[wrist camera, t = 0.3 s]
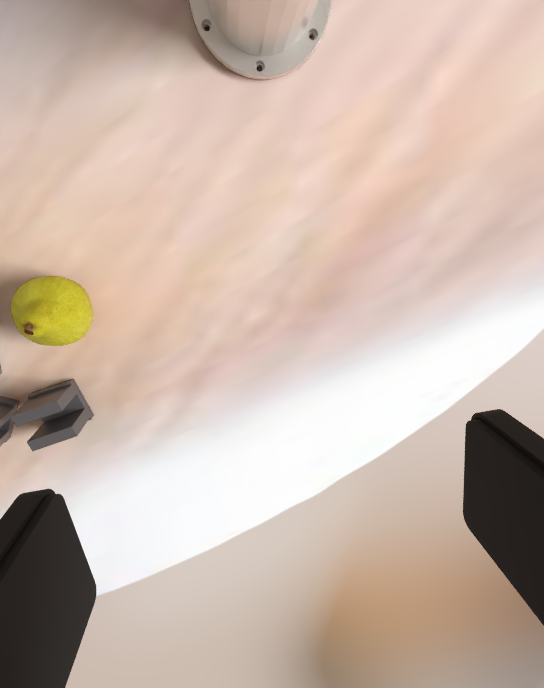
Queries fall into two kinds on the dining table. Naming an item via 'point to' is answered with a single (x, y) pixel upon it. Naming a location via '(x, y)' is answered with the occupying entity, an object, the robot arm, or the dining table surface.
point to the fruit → (52, 310)
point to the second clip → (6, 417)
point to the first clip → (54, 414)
